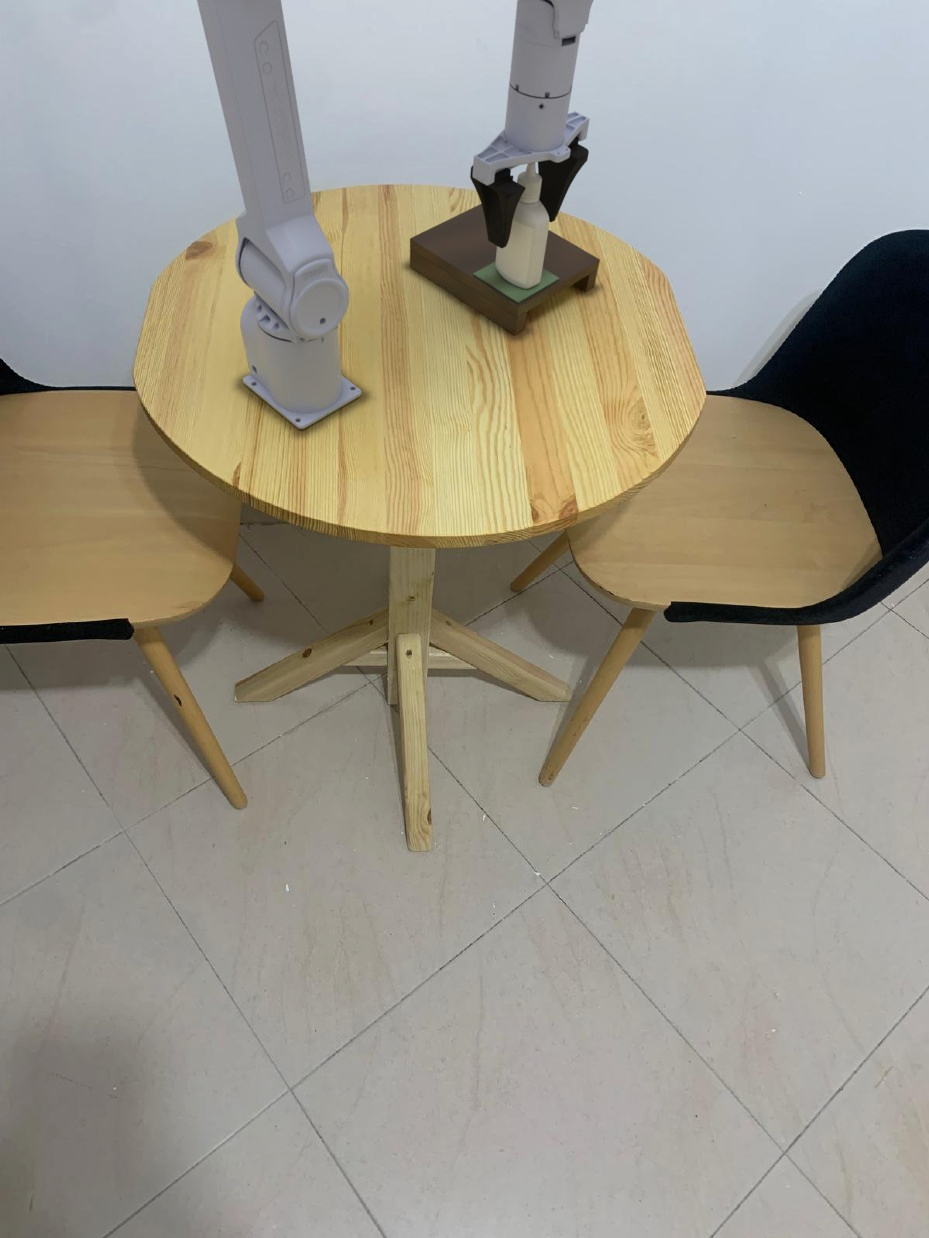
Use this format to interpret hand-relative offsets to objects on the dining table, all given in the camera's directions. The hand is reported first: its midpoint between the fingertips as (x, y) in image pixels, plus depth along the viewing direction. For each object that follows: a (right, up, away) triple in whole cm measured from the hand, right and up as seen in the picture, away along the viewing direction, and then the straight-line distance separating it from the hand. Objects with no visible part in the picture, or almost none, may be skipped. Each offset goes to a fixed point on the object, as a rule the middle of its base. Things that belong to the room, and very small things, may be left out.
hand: (522, 230), depth 81 cm
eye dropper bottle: (0, -3, +4) cm, 5 cm away
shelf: (-2, 0, +10) cm, 10 cm away
